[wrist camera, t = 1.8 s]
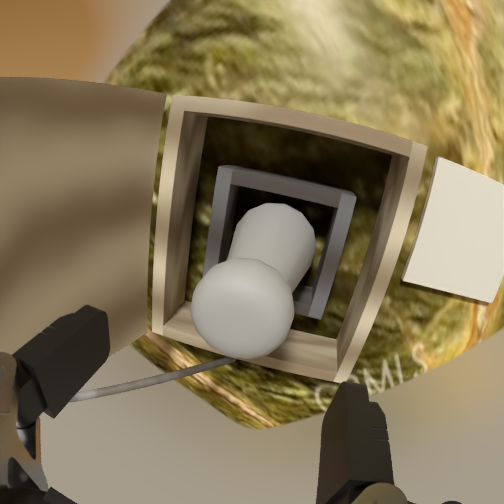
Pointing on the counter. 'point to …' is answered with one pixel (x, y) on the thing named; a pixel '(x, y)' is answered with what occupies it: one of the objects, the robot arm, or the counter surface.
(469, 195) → the tile
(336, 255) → the case
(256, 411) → the counter surface
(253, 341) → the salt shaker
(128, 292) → the lid
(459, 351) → the counter surface
